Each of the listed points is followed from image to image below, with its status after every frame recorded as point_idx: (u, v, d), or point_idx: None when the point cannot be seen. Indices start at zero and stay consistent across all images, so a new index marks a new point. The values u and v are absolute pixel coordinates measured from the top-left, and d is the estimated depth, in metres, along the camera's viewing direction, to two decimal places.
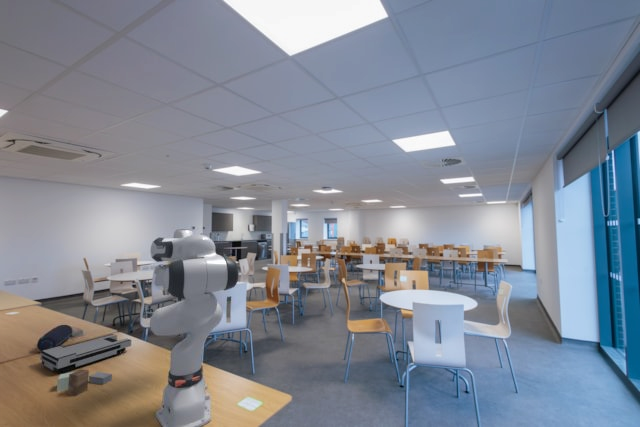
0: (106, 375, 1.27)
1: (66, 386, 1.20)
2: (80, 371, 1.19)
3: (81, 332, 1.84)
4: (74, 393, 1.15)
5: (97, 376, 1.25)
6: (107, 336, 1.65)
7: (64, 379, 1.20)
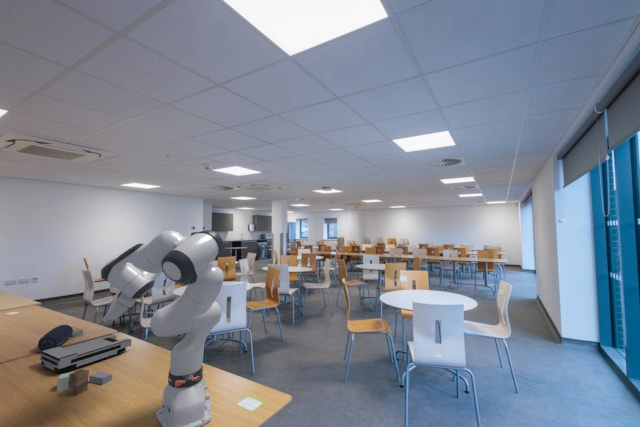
0: (106, 375, 1.26)
1: (66, 386, 1.20)
2: (80, 371, 1.19)
3: (81, 332, 1.85)
4: (74, 393, 1.15)
5: (97, 376, 1.25)
6: (106, 336, 1.65)
7: (64, 379, 1.20)
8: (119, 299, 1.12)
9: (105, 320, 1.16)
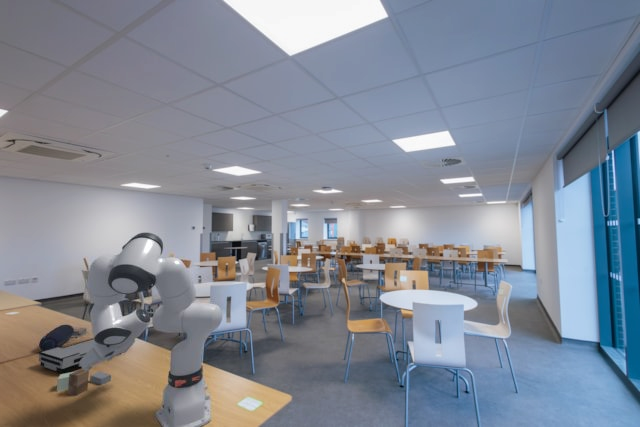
0: (105, 376, 1.26)
1: (66, 386, 1.20)
2: (80, 371, 1.19)
3: (85, 330, 1.88)
4: (74, 393, 1.15)
5: (97, 376, 1.25)
6: None
7: (64, 379, 1.20)
8: (94, 344, 1.07)
9: (85, 369, 1.11)
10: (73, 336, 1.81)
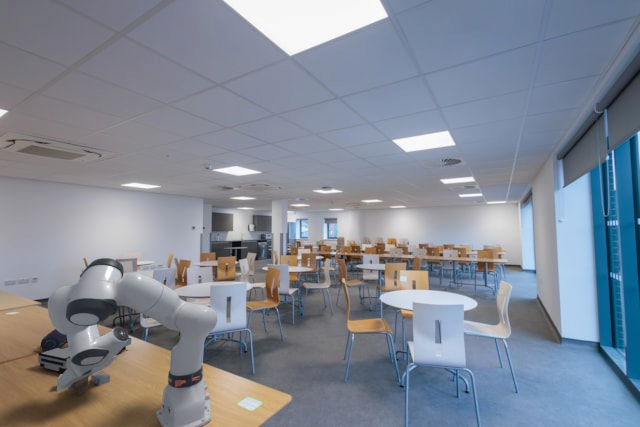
0: (104, 376, 1.26)
1: (66, 386, 1.20)
2: None
3: None
4: (74, 393, 1.15)
5: (96, 376, 1.25)
6: None
7: None
8: (72, 363, 1.09)
9: (69, 384, 1.15)
10: None
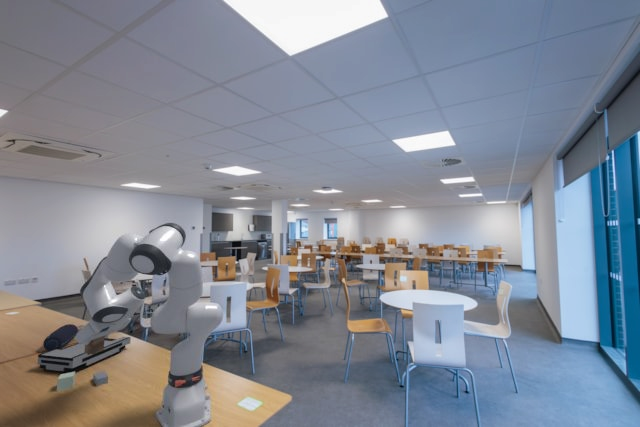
0: (103, 376, 1.25)
1: (66, 386, 1.20)
2: None
3: None
4: (91, 351, 1.15)
5: (96, 376, 1.25)
6: None
7: (64, 379, 1.20)
8: (90, 320, 1.09)
9: (86, 343, 1.15)
10: None
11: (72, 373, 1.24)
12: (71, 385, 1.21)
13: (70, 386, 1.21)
